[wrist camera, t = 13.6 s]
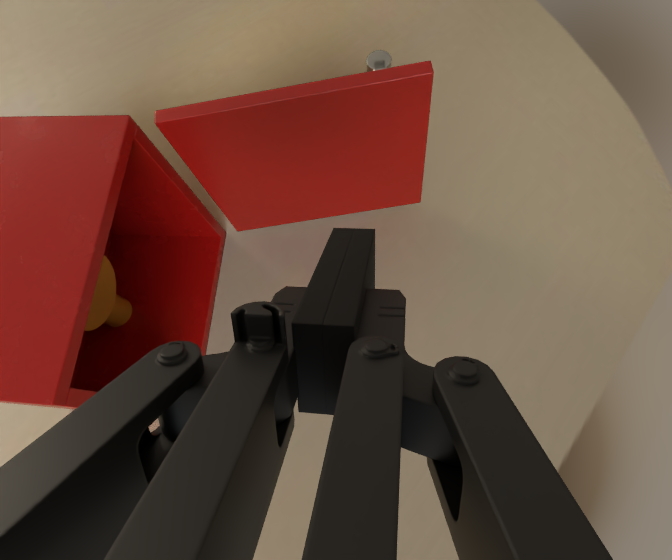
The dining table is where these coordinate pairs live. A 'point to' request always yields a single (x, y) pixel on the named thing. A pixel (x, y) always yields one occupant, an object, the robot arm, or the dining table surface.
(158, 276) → the cabinet
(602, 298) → the dining table surface
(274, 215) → the door
